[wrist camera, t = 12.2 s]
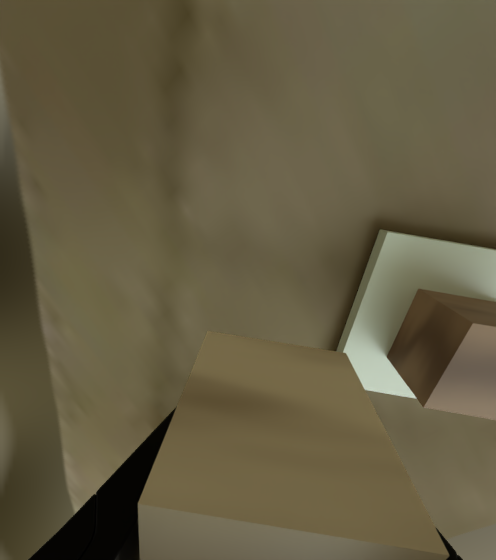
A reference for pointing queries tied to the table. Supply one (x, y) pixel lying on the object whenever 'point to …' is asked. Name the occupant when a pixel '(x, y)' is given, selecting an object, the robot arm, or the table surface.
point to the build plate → (407, 297)
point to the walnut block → (449, 353)
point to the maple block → (279, 465)
